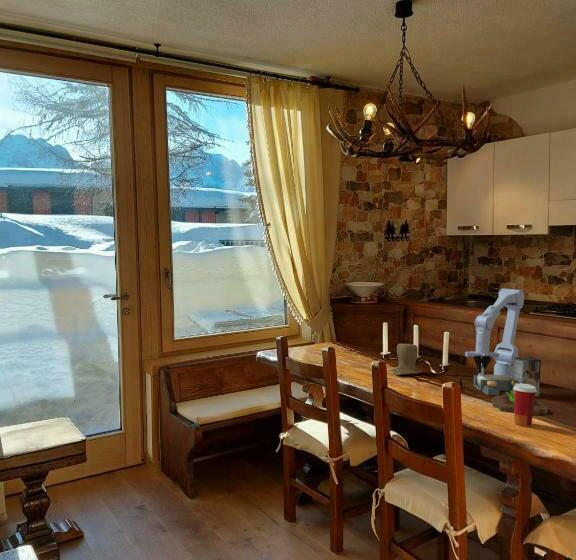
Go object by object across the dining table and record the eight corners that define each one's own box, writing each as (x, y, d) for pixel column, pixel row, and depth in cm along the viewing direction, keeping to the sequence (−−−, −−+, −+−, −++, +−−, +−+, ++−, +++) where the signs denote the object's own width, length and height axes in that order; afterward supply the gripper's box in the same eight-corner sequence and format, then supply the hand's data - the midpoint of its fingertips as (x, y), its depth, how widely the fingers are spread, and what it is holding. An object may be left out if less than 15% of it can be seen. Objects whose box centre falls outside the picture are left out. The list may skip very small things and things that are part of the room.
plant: (486, 399, 235) (488, 373, 234) (535, 403, 232) (537, 376, 231) (498, 413, 215) (499, 385, 214) (552, 417, 212) (553, 388, 212)
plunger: (484, 390, 244) (485, 380, 244) (494, 391, 244) (494, 380, 244) (488, 393, 240) (489, 382, 240) (497, 393, 240) (498, 383, 240)
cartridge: (476, 384, 253) (478, 365, 253) (505, 385, 254) (506, 366, 253) (481, 387, 248) (482, 368, 248) (510, 388, 249) (511, 368, 248)
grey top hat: (409, 370, 284) (411, 340, 283) (425, 375, 274) (426, 344, 273) (384, 372, 278) (386, 342, 277) (399, 377, 267) (401, 346, 266)
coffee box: (529, 392, 247) (531, 356, 246) (539, 396, 241) (541, 359, 240) (511, 393, 245) (513, 357, 244) (521, 397, 239) (523, 360, 238)
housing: (473, 386, 255) (473, 375, 255) (507, 387, 256) (508, 376, 256) (486, 395, 240) (487, 383, 240) (523, 396, 241) (524, 384, 240)
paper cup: (528, 421, 206) (530, 383, 205) (538, 428, 198) (541, 388, 197) (507, 420, 206) (509, 382, 205) (516, 427, 198) (519, 388, 197)
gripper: (470, 343, 245) (468, 374, 246) (502, 344, 246) (500, 375, 247) (464, 341, 252) (462, 370, 253) (496, 341, 253) (494, 371, 254)
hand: (481, 372), depth 250 cm, fingers closed on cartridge
